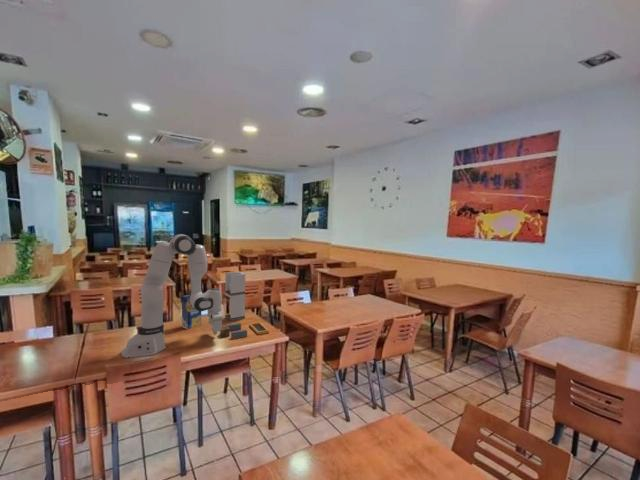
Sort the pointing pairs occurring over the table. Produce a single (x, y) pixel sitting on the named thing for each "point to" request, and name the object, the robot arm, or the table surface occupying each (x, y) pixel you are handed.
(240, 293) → the grey toy tower
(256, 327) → the tray
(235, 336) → the grey parallel walls
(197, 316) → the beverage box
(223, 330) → the walnut block
